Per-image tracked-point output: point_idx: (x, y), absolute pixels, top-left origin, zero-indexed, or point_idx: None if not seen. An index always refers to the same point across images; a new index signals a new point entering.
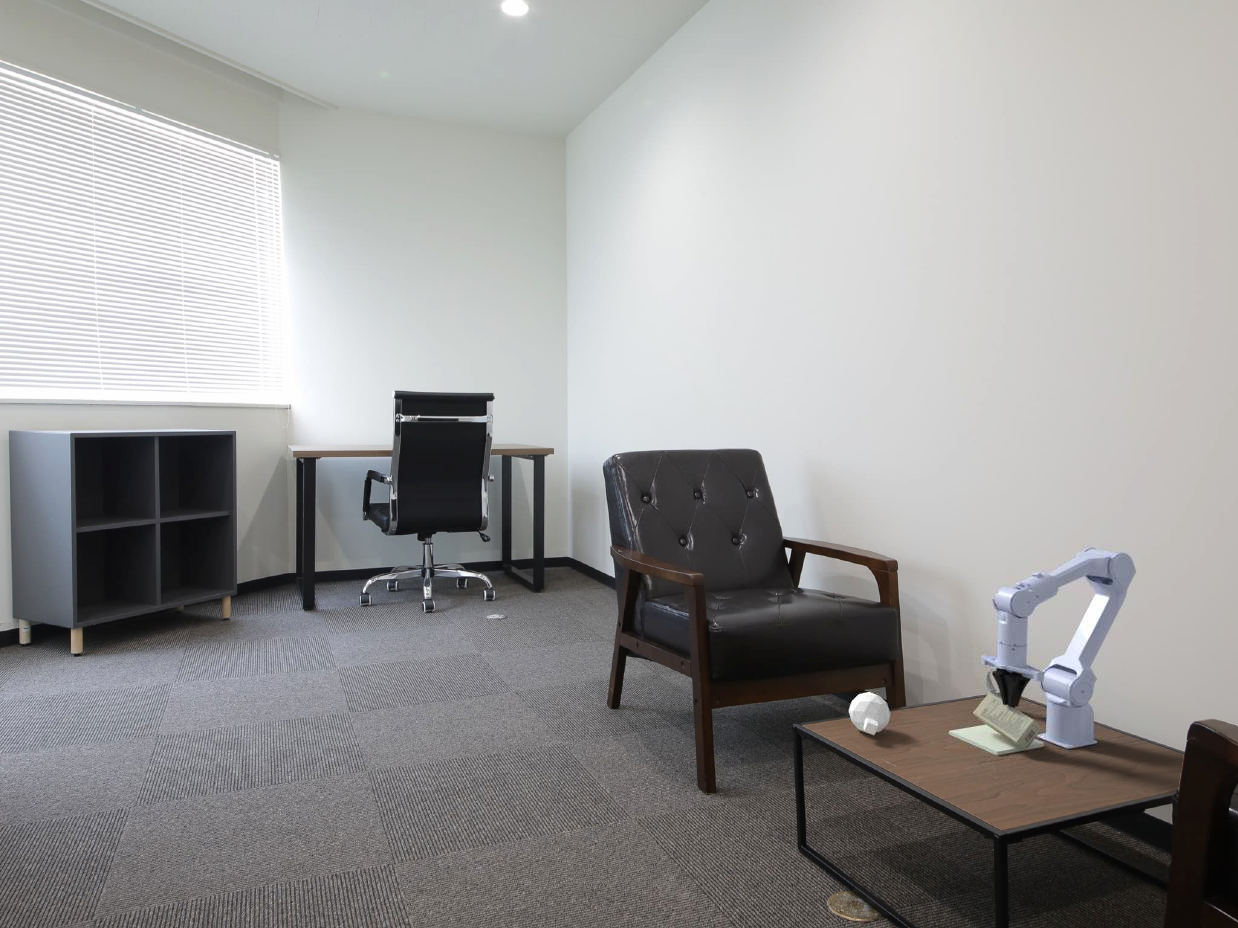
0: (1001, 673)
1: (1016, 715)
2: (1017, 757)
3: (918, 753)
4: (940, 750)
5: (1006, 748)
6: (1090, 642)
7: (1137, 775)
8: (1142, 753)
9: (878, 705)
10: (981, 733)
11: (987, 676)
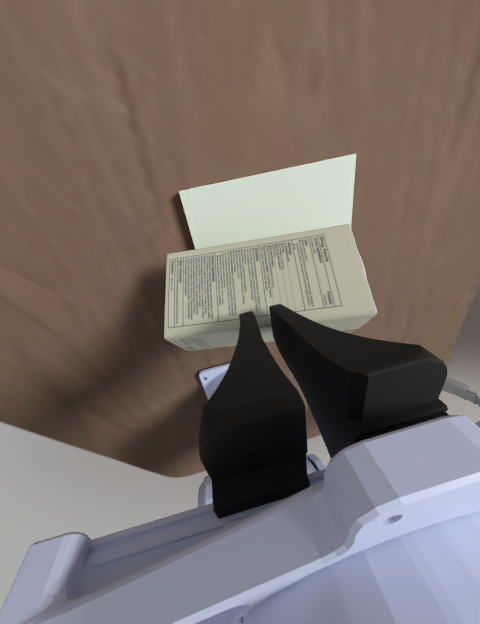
0: (369, 403)
1: (222, 312)
2: (162, 242)
3: None
4: None
5: (200, 238)
6: None
7: (67, 410)
8: (173, 452)
9: None
10: None
11: (477, 397)
